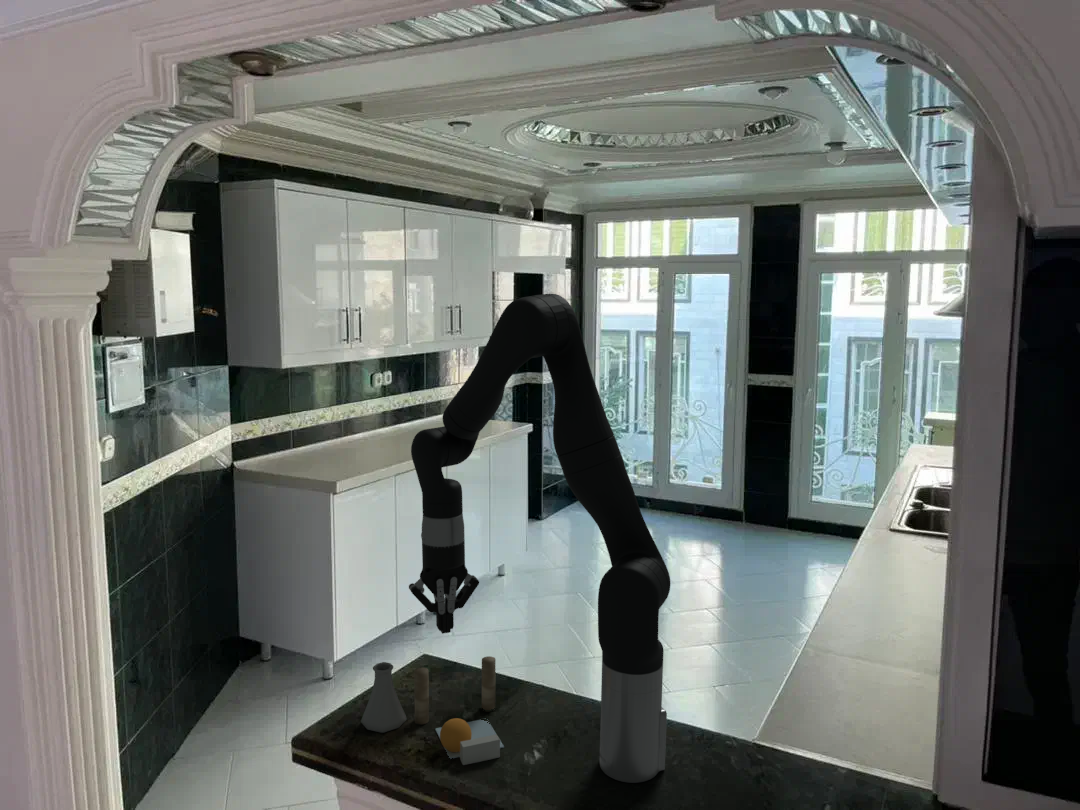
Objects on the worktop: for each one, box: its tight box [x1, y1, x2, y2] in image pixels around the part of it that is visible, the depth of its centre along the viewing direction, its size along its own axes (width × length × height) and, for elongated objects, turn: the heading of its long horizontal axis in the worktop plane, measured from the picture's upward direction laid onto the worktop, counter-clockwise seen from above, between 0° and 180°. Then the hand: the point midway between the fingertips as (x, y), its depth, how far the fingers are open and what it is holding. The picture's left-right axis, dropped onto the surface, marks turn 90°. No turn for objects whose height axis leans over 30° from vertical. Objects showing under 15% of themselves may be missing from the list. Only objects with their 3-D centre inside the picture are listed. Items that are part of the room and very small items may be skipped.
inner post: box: [481, 656, 496, 710], centre depth 138 cm, size 2×2×9 cm
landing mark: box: [434, 719, 505, 760], centre depth 130 cm, size 9×9×1 cm
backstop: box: [459, 733, 501, 766], centre depth 124 cm, size 6×2×3 cm, turn 112°
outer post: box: [413, 667, 430, 725], centre depth 134 cm, size 2×2×9 cm
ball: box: [439, 717, 472, 752], centre depth 126 cm, size 5×5×5 cm
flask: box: [360, 661, 408, 734], centre depth 134 cm, size 7×7×10 cm
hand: (445, 631), depth 143 cm, fingers closed
